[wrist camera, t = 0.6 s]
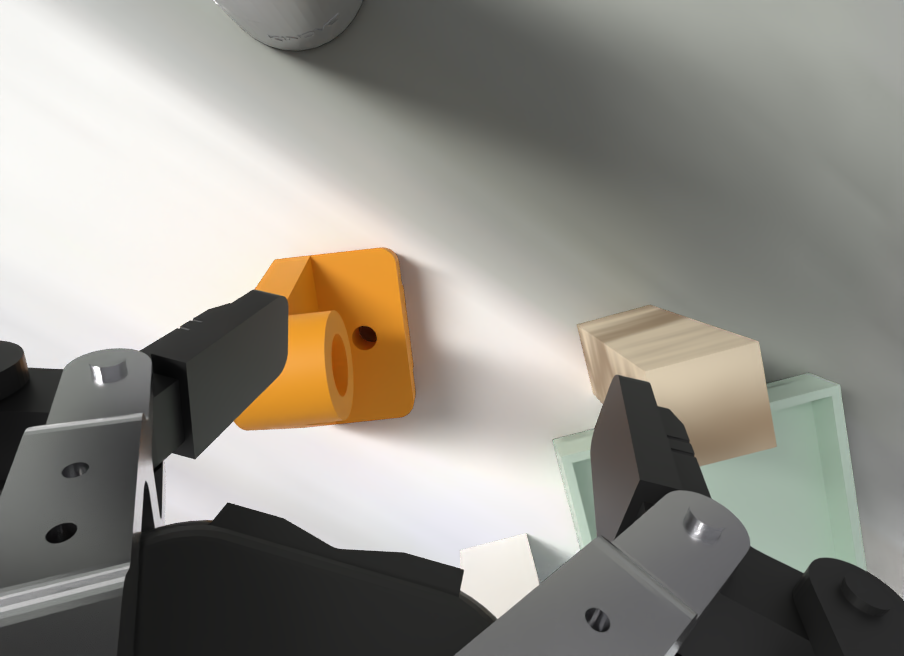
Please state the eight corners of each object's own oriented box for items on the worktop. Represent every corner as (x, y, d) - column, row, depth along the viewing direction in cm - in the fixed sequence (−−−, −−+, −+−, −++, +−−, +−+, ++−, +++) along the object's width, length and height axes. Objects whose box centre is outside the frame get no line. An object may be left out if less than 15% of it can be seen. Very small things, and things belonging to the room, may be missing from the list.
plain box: (576, 324, 34) (644, 371, 22) (650, 304, 33) (759, 341, 22) (593, 393, 34) (667, 474, 23) (664, 374, 34) (776, 447, 22)
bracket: (418, 402, 35) (401, 487, 23) (314, 413, 35) (244, 503, 23) (398, 245, 33) (368, 250, 21) (288, 257, 33) (197, 269, 21)
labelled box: (459, 549, 37) (464, 699, 25) (526, 533, 36) (562, 676, 24) (477, 608, 37) (489, 779, 26) (542, 592, 37) (585, 757, 25)
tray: (552, 439, 35) (560, 456, 32) (808, 372, 34) (840, 384, 31) (607, 654, 38) (619, 687, 35) (843, 598, 37) (875, 626, 34)
